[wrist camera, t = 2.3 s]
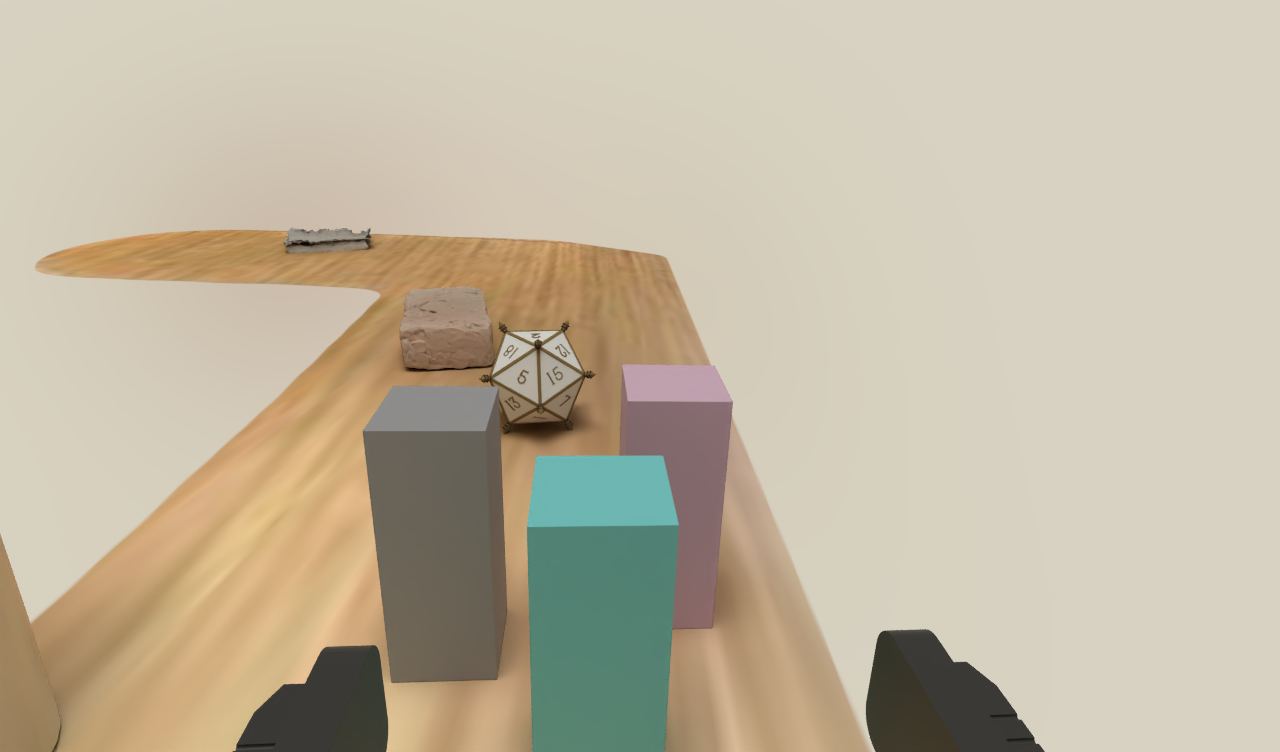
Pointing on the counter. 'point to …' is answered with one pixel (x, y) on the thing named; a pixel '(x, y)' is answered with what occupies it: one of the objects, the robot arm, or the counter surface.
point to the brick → (446, 329)
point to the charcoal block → (439, 530)
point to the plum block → (684, 467)
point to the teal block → (600, 602)
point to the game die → (536, 376)
